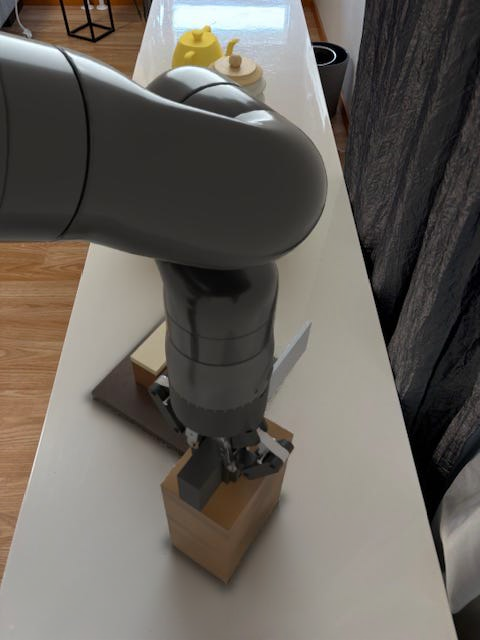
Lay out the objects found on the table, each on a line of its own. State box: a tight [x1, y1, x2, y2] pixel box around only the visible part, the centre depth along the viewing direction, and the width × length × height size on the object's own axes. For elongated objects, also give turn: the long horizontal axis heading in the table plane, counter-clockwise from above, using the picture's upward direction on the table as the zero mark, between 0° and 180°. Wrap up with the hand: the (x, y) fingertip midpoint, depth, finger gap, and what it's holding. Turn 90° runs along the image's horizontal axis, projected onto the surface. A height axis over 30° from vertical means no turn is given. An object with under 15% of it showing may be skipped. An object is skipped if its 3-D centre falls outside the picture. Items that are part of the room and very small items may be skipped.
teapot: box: [171, 24, 241, 69], centre depth 133 cm, size 14×14×12 cm
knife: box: [177, 319, 313, 512], centre depth 55 cm, size 22×2×5 cm, turn 147°
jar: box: [208, 52, 267, 103], centre depth 117 cm, size 13×13×18 cm
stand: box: [159, 416, 295, 584], centre depth 62 cm, size 12×8×18 cm, turn 147°
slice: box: [130, 321, 167, 389], centre depth 80 cm, size 10×4×6 cm, turn 147°
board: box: [90, 316, 279, 457], centre depth 82 cm, size 20×20×2 cm
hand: (218, 466), depth 53 cm, fingers closed on knife, 2 cm apart
